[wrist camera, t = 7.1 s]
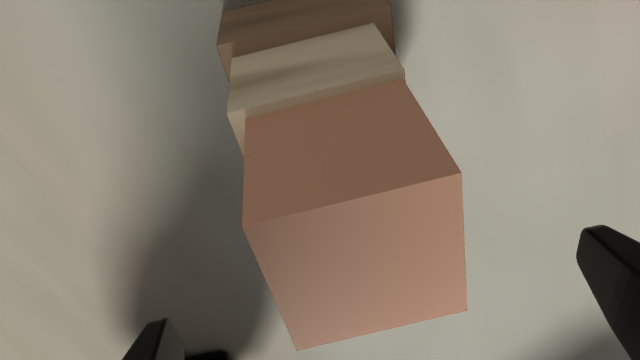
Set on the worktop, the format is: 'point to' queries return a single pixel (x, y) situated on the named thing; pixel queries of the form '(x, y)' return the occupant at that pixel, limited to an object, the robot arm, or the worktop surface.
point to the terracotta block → (354, 214)
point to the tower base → (295, 24)
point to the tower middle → (308, 73)
